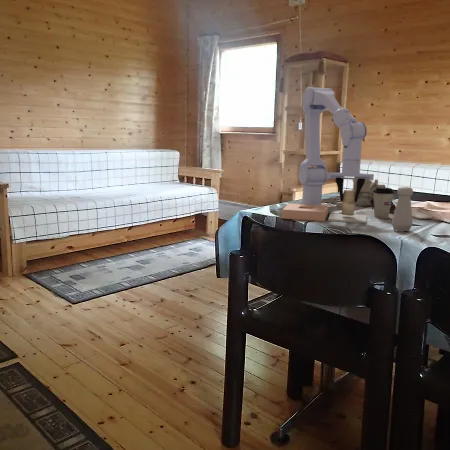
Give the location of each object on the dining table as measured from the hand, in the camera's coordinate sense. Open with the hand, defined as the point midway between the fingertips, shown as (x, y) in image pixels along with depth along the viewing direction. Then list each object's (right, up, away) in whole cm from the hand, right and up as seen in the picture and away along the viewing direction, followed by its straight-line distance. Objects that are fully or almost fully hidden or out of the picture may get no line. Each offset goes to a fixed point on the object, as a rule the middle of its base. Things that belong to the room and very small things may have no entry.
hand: (348, 201), depth 154 cm
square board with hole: (-13, -5, +5) cm, 15 cm away
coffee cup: (+13, -5, +6) cm, 15 cm away
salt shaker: (+11, -10, -16) cm, 22 cm away
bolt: (+19, -3, +21) cm, 29 cm away
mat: (0, -6, +1) cm, 6 cm away
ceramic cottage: (+17, +1, +38) cm, 42 cm away
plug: (0, -4, +1) cm, 5 cm away
